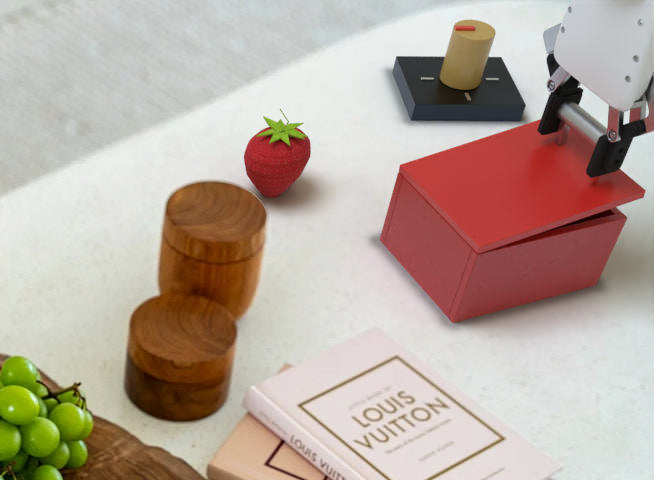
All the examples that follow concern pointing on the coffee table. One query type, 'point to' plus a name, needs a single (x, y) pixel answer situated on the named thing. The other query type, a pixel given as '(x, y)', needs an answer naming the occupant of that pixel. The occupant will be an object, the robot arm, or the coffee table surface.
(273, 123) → the strawberry
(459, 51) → the tan rotary knob
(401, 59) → the panel
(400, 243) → the red open box
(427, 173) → the hatch
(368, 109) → the coffee table surface
